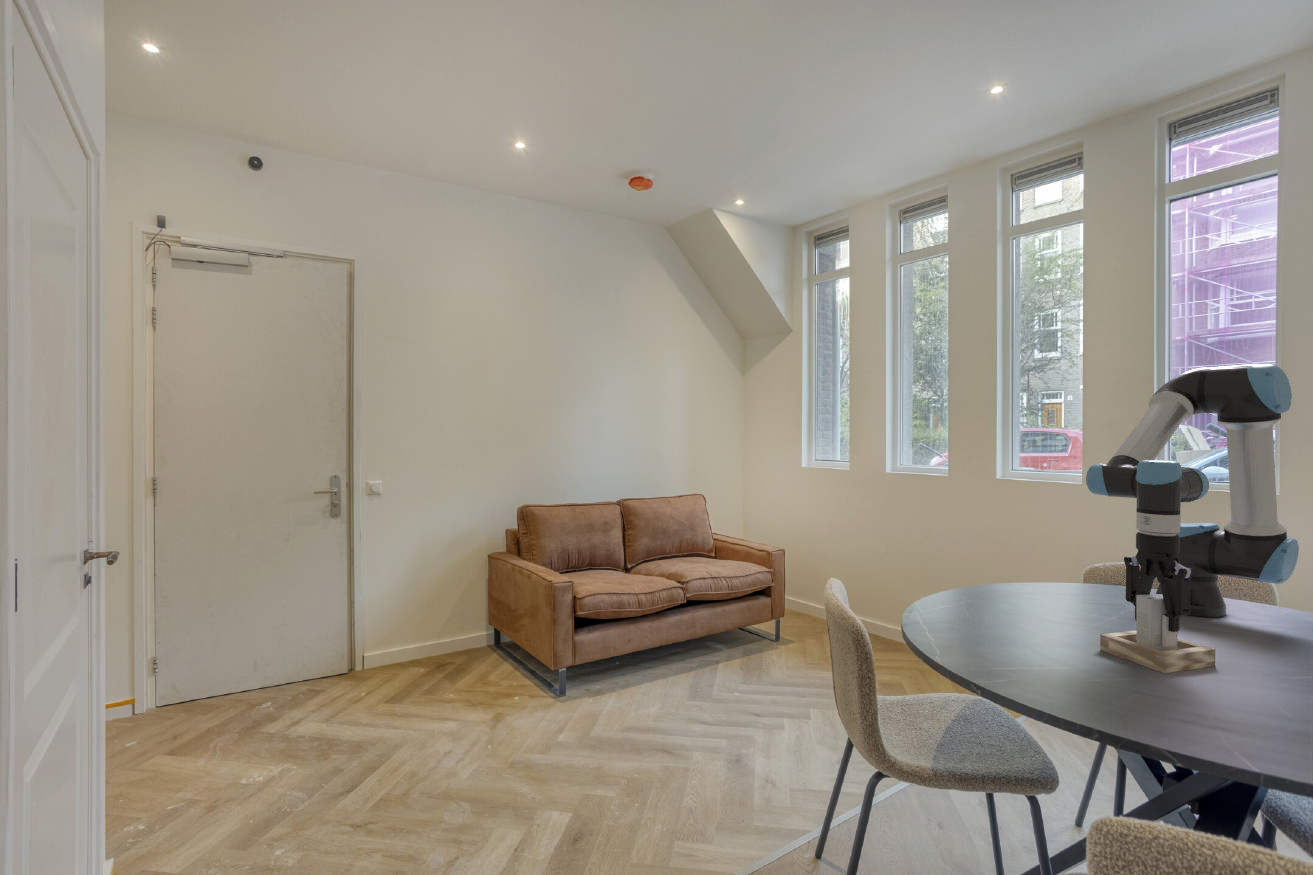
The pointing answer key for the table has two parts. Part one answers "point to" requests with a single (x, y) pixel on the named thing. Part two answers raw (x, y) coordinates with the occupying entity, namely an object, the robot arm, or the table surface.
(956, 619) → the table surface
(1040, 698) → the table surface
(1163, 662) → the holder
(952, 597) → the table surface
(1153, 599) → the skincare box
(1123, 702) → the table surface
